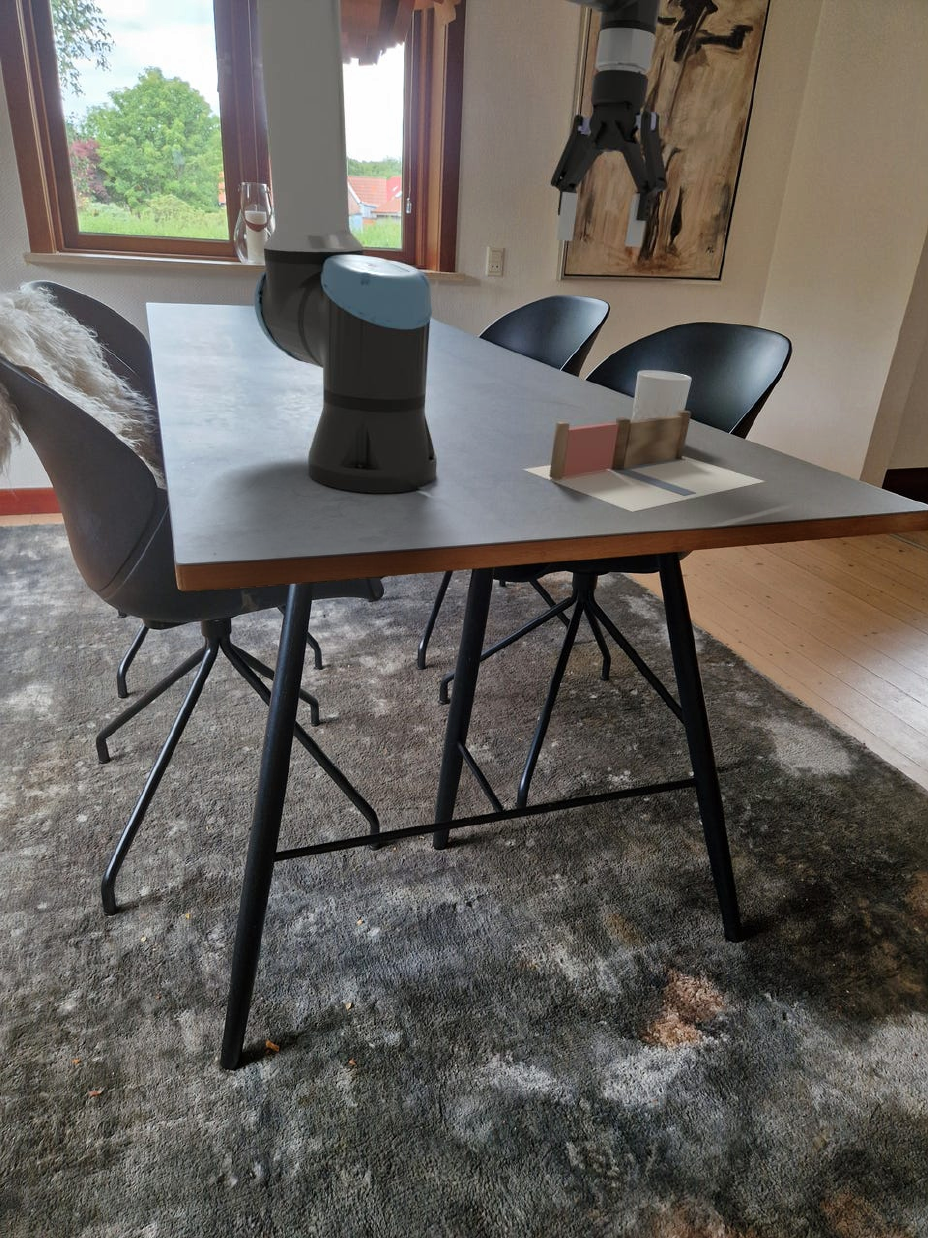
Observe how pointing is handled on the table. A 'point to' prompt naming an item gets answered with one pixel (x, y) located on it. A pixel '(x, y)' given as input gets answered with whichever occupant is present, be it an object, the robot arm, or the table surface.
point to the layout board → (652, 482)
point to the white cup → (660, 394)
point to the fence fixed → (650, 440)
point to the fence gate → (582, 449)
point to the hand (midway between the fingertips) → (597, 243)
